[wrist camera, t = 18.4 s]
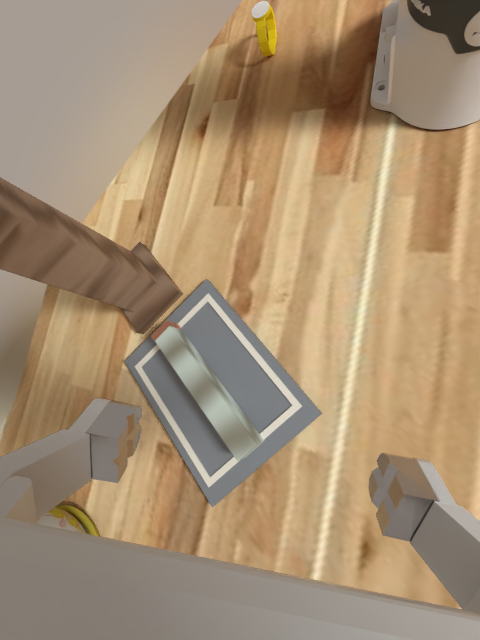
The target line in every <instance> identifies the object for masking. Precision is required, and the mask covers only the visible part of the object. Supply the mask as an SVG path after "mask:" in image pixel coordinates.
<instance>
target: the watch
mask: <svg viewBox="0 0 480 640" xmlns="http://www.w3.org/2000/svg"><path fill="white" fill-rule="evenodd" d="M252 18H253V20H254V21H255V22H256V29H257V30H256V31H257V37H258V41H259V42H258V43H259V46H260V50H261V52H262V54H263V55H264V56H265V57H266V56H271V55H274V54H275V47H276V40H277V32H276V23H275V18H274V14H273V10H272V7H271V6H270V4H269V3H268V2H267V1H261V2H259V3H257V4H256V5H255V6H254V8H253V9H252ZM265 20H266V22H265ZM266 25H267V30H268V39H267V33H266Z"/></svg>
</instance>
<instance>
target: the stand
mask: <svg viewBox="0 0 480 640" xmlns="http://www.w3.org/2000/svg"><path fill="white" fill-rule="evenodd" d="M0 269H2V270H5V271H8V272H11V273H14V274H18V275H20V276H24V277H27V278H30V279H33V280H36V281H39V282H42V283H46V284H49V285H52V286H55V287H58V288H61V289H64V290H67V291H70V292H74V293H77V294H80V295H83V296H86V297H89V298H92V299H96V300H99V301H102V302H105V303H108V304H111V305H114V306H117V307H121V308H122V310H123V311H124V313H125V314H126V316H127V318H128V319H129V321H130V322H131V324H132V325H133V327H134V328H135V330H136V331H137V333H142V334H144V333H145V332H146V331H147V330H148V329H149V328H150V327H151V326H152V325H153V324H154V323H155V322H156V321H157V320H158V319H159V318H160V317H161V316H162V315H163V314H164V313H165V312H166V311H167V310H168V309H169V308H170V307H171V306H172V305H173V304H174V303H175V302H176V301H177V300H178V298H179V297H180V296H181V295H182V294H183V293H182V292H181V291H180V289H179V288H178V287H177V285H176V284H175V283H174V282H173V280H172V279H171V278H170V276H169V275H168V274H167V273H166V271H165V270H164V269H163V268H162V266H161V265H160V264H159V262H158V261H157V260H156V259H155V257H154V256H153V255H152V253H151V252H150V251H149V250H148V248H147V247H146V246H145V245H144V244H142V243H140V242H139V243H138V244H137V245H136V246H135V247H134V249H133V250H132V251H129V250H127V249H126V248H124V247H122V246H120V245H118V244H117V243H115V242H113V241H111V240H110V239H108V238H106V237H104V236H103V235H101V234H99V233H97V232H96V231H94V230H92V229H90V228H88V227H87V226H85V225H83V224H81V223H80V222H78V221H76V220H74V219H73V218H71V217H69V216H67V215H66V214H64V213H62V212H60V211H58V210H57V209H55V208H53V207H51V206H49V205H48V204H46V203H44V202H43V201H41V200H39V199H37V198H36V197H34V196H32V195H30V194H28V193H27V192H25V191H23V190H21V189H20V188H18V187H16V186H14V185H13V184H11V183H9V182H7V181H6V180H4V179H2V178H0Z"/></svg>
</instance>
